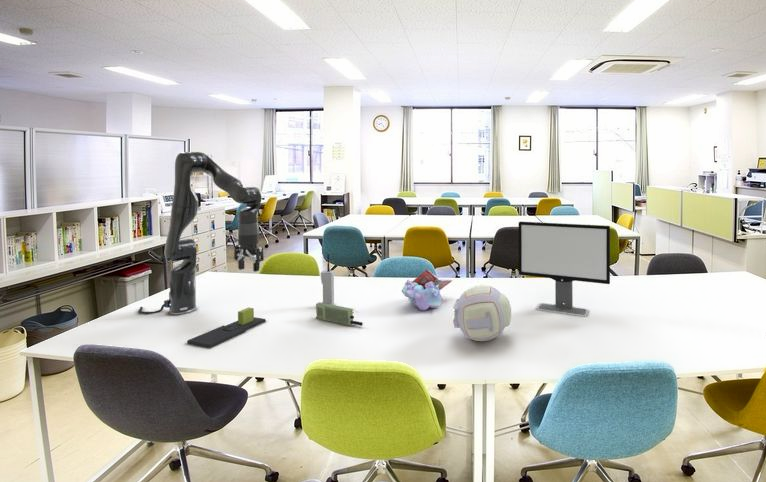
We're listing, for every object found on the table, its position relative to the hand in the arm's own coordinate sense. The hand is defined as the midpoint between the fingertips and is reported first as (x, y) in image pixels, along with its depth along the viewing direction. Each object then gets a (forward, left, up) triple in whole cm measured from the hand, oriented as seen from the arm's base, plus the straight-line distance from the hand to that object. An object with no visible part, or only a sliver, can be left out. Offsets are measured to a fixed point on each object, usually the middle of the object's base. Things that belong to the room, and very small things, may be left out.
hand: (248, 270), depth 159 cm
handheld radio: (+39, +9, -22) cm, 46 cm away
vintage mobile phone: (+21, +23, -22) cm, 38 cm away
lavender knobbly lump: (+65, +39, -22) cm, 79 cm away
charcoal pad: (+3, -17, -22) cm, 28 cm away
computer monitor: (+129, +51, -22) cm, 141 cm away
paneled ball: (+102, +13, -22) cm, 105 cm away
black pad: (+3, -6, -22) cm, 23 cm away
